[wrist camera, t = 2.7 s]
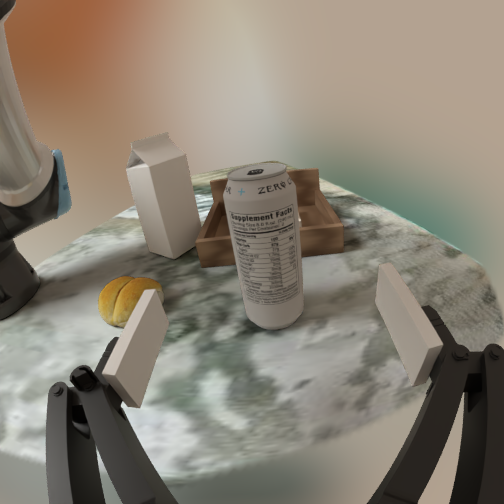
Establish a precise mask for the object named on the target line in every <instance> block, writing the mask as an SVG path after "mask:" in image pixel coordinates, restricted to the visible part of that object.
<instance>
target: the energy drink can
mask: <svg viewBox="0 0 504 504" xmlns="http://www.w3.org/2000/svg"><path fill="white" fill-rule="evenodd" d="M227 178H228V182H227V185H226V188H225V191H224V194H223V198H224V204H225V209H226V214H227V219H228V225H229V230H230V235H231V240H232V245H233V251H234V256H235V261H236V266H237V271H238V276H239V281H240V286H241V291H242V296H243V301H244V306H245V311H246V314H247V316H248V318H249V319H250V320H251V321H252V322H254V323H255V324H256V325H258V326H259V327H261V328H264V329H269V330H278V329H282V328H285V327H288V326H290V325H291V324H293V323H294V322H295V321H296V320H297V318H298V317H299V316H300V315H301V313H302V311H303V308H304V297H303V277H302V260H301V244H300V230H299V218H298V206H297V195H296V186H295V184H294V182H293V181H292V179H291V178H290V177H289V175H288V174H287V172H286V166H285V165H283V164H278V163H263V164H254V165H248V166H244V167H240V168H237V169H234V170H232V171H230V172H228V173H227Z"/></svg>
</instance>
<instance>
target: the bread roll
mask: <svg viewBox="0 0 504 504" xmlns="http://www.w3.org/2000/svg"><path fill="white" fill-rule="evenodd" d="M150 289H156V291H157V294H158V296H159V299H160V301H161V304H163V302H164V293H163V291H162V287H161V285H160V284H159V283H158V282H157V281H155V280H153V279H150V278H144V277H139V278H133V277H129V276H122V277H119V278H117V279H114V280H113V281H111V282H110V283H108V284H107V285H106V286H105V287H104V289H103V290H102V291H101V293H100V296H99V300H98V307H99V312H100V315H101V317H102V318H103V320H104V321H105V322H106V323H108V324H109V325H112V326H115V325H117V326H120V327H123V328H124V327H125V326H126V324H127V322H128V320H129V318H130V316H131V314H132V312H133V310H134V309H135V307H136V305H137V303H138V301H139V299H140V298H141V296H142V294H143V292H144V290H150Z"/></svg>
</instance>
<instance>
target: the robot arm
mask: <svg viewBox="0 0 504 504" xmlns="http://www.w3.org/2000/svg"><path fill="white" fill-rule="evenodd" d="M15 5H16V0H0V320H1V319H3V318H5V317H7V316H9V315H11V314H12V313H14V312H15V311H17V310H18V309H19V308H21V307H22V306H23V305H24V304H25V303H26V302H27V301H28V300H29V299H30V298H31V297H32V296H33V295H34V294H35V292H36V291H37V289H38V287H39V285H40V279H39V277H38V275H37V273H36V271H35V270H34V269H33V268H32V267H31V265H30V264H29V263H28V262H27V261H26V260H25V258H24V257H23V256H22V255H21V254H20V253H19V251H18V250H17V248H16V246H15V243H14V241H13V238H15V237H17V236H19V235H21V234H23V233H25V232H27V231H29V230H31V229H33V228H35V227H37V226H39V225H41V224H43V223H45V222H48V221H50V220H52V219H57V218H58V217H59V216H60V215H63V214H65V213H67V212H68V211H69V210H70V208H71V197H70V192H69V187H68V182H67V176H66V171H65V167H64V161H63V156H62V152H61V151H60V150H59V149H57V150H52V151H50V149H49V148H48V146H46V145H45V144H43V143H41V142H37V140H36V138H35V135H34V133H33V130H32V128H31V125H30V122H29V120H28V117H27V114H26V111H25V108H24V105H23V103H22V99H21V96H20V93H19V90H18V86H17V83H16V79H15V76H14V72H13V68H12V64H11V60H10V55H9V51H8V46H7V41H6V36H5V30H4V22H5V20H6V19H7V18H8V16H9V15H10V13H11V12H12V10H13V9H14V7H15ZM375 303H376V305H377V308H378V310H379V312H380V314H381V316H382V318H383V320H384V322H385V324H386V327H387V329H388V331H389V333H390V335H391V337H392V340H393V342H394V344H395V347H396V349H397V351H398V353H399V356H400V358H401V360H402V363H403V365H404V368H405V370H406V372H407V375H408V377H409V380H410V382H411V385H412V387H414V386H417V385H420V384H424V383H426V381H427V379H428V377H429V376H430V378H431V380H432V383H431V385H430V387H429V389H428V390H427V392H426V394H427V395H426V398H425V400H424V402H423V405H422V407H421V410H420V412H419V414H418V416H417V418H416V420H415V423H414V425H413V427H412V429H411V431H410V433H409V435H408V437H407V439H406V441H405V443H404V445H403V447H402V448H401V450H400V452H399V454H398V456H397V458H396V459H395V461H394V463H393V465H392V466H391V468H390V470H389V471H388V473H387V475H386V476H385V478H384V479H383V481H382V482H381V484H380V486H379V487H378V489H377V490H376V492H375V493H374V494H373V496H372V497H371V499H370V500H369V502H368V503H367V504H418V500H419V498H420V497H421V495H422V493H423V491H424V489H425V487H426V485H427V483H428V482H429V480H430V478H431V475H432V474H433V471H434V469H435V467H436V465H437V463H438V461H439V458H440V456H441V454H442V451H443V449H444V447H445V444H446V442H447V439H448V436H449V434H450V431H451V428H452V425H453V423H454V420H455V417H456V414H457V411H458V408H459V404H460V401H461V398H462V394H463V392H464V393H465V394H464V414H463V428H462V439H461V446H460V453H459V460H458V466H457V472H456V476H455V482H454V486H453V490H452V495H451V499H450V502H449V504H504V349H503V348H502V347H501V346H499V345H497V344H489V345H487V346H486V348H485V349H484V351H483V352H470V351H469V350H468V349H467V348H466V347H465V346H463V345H459V344H457V343H456V341H455V340H454V338H453V336H452V335H451V333H450V332H449V330H448V328H447V327H446V325H444V322H443V321H442V319H441V317H440V316H439V314H438V313H437V311H436V310H434V309H433V308H432V307H430V306H429V305H428V306H424V307H421V306H420V305H419V303H418V302H417V300H416V299H415V297H414V296H413V294H412V293H411V291H410V290H409V288H408V287H407V285H406V284H405V282H404V281H403V279H402V278H401V276H400V275H399V273H398V272H397V271H396V269H395V268H394V266H393V265H392V263H386V264H379V272H378V281H377V290H376V298H375ZM168 326H169V321H168V319H167V316H166V314H165V311H164V309H163V306H162V304H161V301H160V299H159V296H158V294H157V291H156V289H150V290H144V292H143V294H142V296H141V298H140V299H139V301H138V303H137V305H136V307H135V309H134V310H133V312H132V314H131V316H130V318H129V320H128V322H127V324H126V326H125V327H124V329H123V331H122V333H121V335H120V337H114V338H113V339H112V340H111V341H110V342H109V344H108V346H107V348H106V350H105V352H104V353H103V355H102V357H101V359H100V361H99V363H98V365H97V367H96V369H95V371H94V372H93V371H92V370H91V368H90V367H89V366H87V365H82V366H79V367H77V368H76V369H74V370H73V372H72V373H71V375H70V381H71V382H72V384H73V385H74V386H75V387H68V386H67V385H66V384H65V383H64V382H57V383H55V384H54V385H53V386H52V387H51V388H50V390H49V393H48V405H47V420H46V470H47V484H48V495H49V504H106V503H105V499H104V494H103V489H102V484H101V479H100V473H99V467H98V460H97V453H96V446H97V449H98V451H99V454H100V456H101V459H102V461H103V463H104V466H105V468H106V470H107V472H108V475H109V477H110V479H111V481H112V483H113V485H114V487H115V489H116V491H117V493H118V495H119V497H120V499H121V501H122V503H123V504H178V502H177V501H176V500H175V498H174V497H173V495H172V494H171V493H170V491H169V490H168V488H167V487H166V485H165V484H164V482H163V480H162V479H161V477H160V476H159V474H158V473H157V471H156V469H155V468H154V466H153V464H152V463H151V461H150V459H149V458H148V456H147V454H146V453H145V451H144V449H143V447H142V445H141V444H140V442H139V440H138V438H137V436H136V434H135V432H134V430H133V428H132V426H131V424H130V422H129V420H128V418H127V416H126V414H125V412H124V410H123V408H122V407H121V403H122V401H123V402H124V403H125V404H126V405H127V406H128V407H134V408H140V407H141V404H142V401H143V398H144V395H145V392H146V389H147V386H148V383H149V380H150V377H151V374H152V371H153V368H154V365H155V362H156V359H157V356H158V354H159V351H160V348H161V345H162V342H163V340H164V337H165V334H166V331H167V329H168ZM95 443H96V445H95Z"/></svg>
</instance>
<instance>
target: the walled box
mask: <svg viewBox="0 0 504 504" xmlns="http://www.w3.org/2000/svg"><path fill="white" fill-rule="evenodd" d="M286 172H287V174H288V175H289V177H290V178H291V179H292V181H293V182H294V184H295V186H296V195H297V206H298V218H299V230H300V244H301V257H307V256H316V255H325V254H334V253H342V252H343V251H344V226H343V224H342V223H341V221H340V219H339V218H338V216H337V215H336V213H335V212H334V210H333V209H332V207H331V206H330V204H329V203H328V201H327V200H326V198H325V197H324V195H323V194H322V192H321V191H320V187H319V172H318V168H311V169H299V170H289V171H286ZM227 182H228V178H225V179H219V180H212V181H210V185H211V190H212V195H213V200H214V203H213V205H212V207H211V209H210V211H209V213H208V216H207V218H206V220H205V222H204V224H203V226H202V229H201V231H200V233H199V235H198V237H197V240H196V242H195V244H196V248H197V252H198V256H199V260H200V264H201V267H202V268H205V267H215V266H224V265H234V264H236V261H235V256H234V251H233V245H232V240H231V235H230V230H229V225H228V219H227V214H226V209H225V204H224V198H223V194H224V191H225V188H226V185H227Z"/></svg>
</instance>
